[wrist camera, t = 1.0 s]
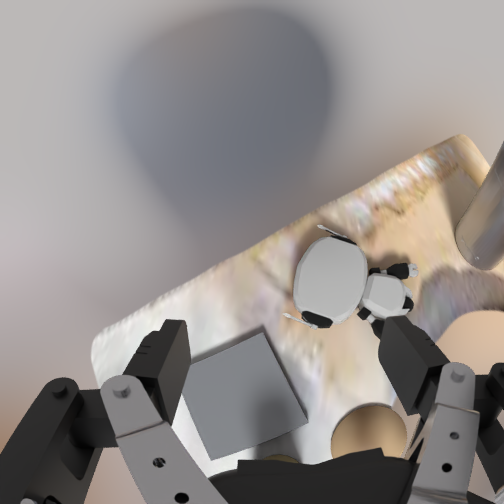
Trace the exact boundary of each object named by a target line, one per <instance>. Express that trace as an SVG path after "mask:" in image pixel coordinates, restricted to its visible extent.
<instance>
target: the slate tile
mask: <svg viewBox="0 0 504 504" xmlns="http://www.w3.org/2000/svg"><path fill="white" fill-rule="evenodd" d="M182 395H183V397H184V400H185V402H186V405H187V407H188V410H189V412H190V415H191V417H192V419H193V422H194V424H195V426H196V429H197V431H198V433H199V435H200V438H201V440H202V442H203V444H204V446H205V449H206V451H207V453H208V455H209V457H210V459H211V461H212V460H215V459H218V458H221V457H224V456H227V455H230V454H233V453H236V452H239V451H242V450H245V449H248V448H250V447H253V446H256V445H258V444H261V443H263V442H266V441H268V440H271V439H273V438H276V437H278V436H280V435H283V434H285V433H287V432H289V431H292V430H294V429H296V428H298V427H300V426H303V425H305V424H307V423H308V420H307V418H306V416H305V414H304V412H303V411H302V409H301V407H300V405H299V403H298V401H297V399H296V397H295V395H294V393H293V391H292V389H291V387H290V385H289V383H288V381H287V379H286V377H285V375H284V373H283V371H282V369H281V367H280V365H279V363H278V361H277V359H276V357H275V355H274V353H273V351H272V349H271V347H270V345H269V343H268V341H267V339H266V337H265V335H264V333H263V332H262V333H260V334H258V335H256V336H253V337H251V338H249V339H247V340H245V341H243V342H241V343H239V344H237V345H234V346H232V347H230V348H228V349H226V350H223V351H221V352H219V353H217V354H215V355H212V356H210V357H208V358H206V359H203V360H201V361H199V362H196V363H194V364H192V365H190V367H189V371H188V374H187V377H186V380H185V384H184V387H183V390H182Z"/></svg>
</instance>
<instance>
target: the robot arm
mask: <svg viewBox="0 0 504 504" xmlns="http://www.w3.org/2000/svg"><path fill="white" fill-rule="evenodd" d="M455 235H456V242H457V246H458V248H459V250H460V252H461V254H462V255H463V257H464V258H465V259H466V260H467V261H468V262H469V263H470V264H471V265H472V266H474V267H476V268H478V269H481V270H491V269H493V268H495V267H496V266H497V265H498V264H499V263H500V262H501V261H502V260H503V259H504V142H503V144H502V146H501V148H500V150H499V152H498V154H497V156H496V159H495V161H494V163H493V165H492V166H491V168H490V170H489V172H488V174H487V176H486V178H485V180H484V181H483V183H482V185H481V187H480V189H479V190H478V192H477V194H476V196H475V197H474V199H473V201H472V202H471V204H470V206H469V207H468V209H467V210H466V212H465V214H464V215H463V217H462V218H461V220H460V221H459V223H458V225H457V227H456V232H455ZM378 357H379V361H380V364H381V365H382V367H383V369H384V371H385V373H386V375H387V377H388V378H389V380H390V382H391V384H392V386H393V388H394V390H395V392H396V394H397V396H398V397H399V399H400V401H401V403H402V405H403V407H404V409H405V411H406V413H407V415H408V416H409V415H413V414H418V413H419V414H420V418H419V420H418V423H417V425H416V429H415V431H414V434H413V437H412V439H411V442H410V445H409V447H408V450H407V452H406V455H405V457H404V459H403V458H398V457H392V456H384V453H383V450H382V448H381V447H379V448H375V449H369V450H364V451H358V452H352V453H348V454H345V455H342V456H340V457H337V458H334V459H331V460H328V461H325V462H322V463H319V464H315V465H309V464H301V463H293V462H286V461H280V460H238V466H237V469H234V470H229V471H225V472H221V473H219V474H216V475H213V476H211V477H209V478H207V477H206V476H205V475H204V473H203V472H202V471H201V469H200V468H199V467H198V465H197V464H196V463H195V461H194V460H193V459H192V457H191V456H190V454H189V453H188V452H187V450H186V449H185V447H184V446H183V444H182V443H181V441H180V440H179V438H178V437H177V436H176V434H175V432H174V431H173V429H172V428H171V426H172V423H173V420H174V416H175V413H176V410H177V406H178V403H179V400H180V397H181V393H182V390H183V387H184V384H185V380H186V377H187V374H188V371H189V367H190V361H191V354H190V346H189V339H188V332H187V325H186V322H185V320H171V319H166V320H165V322H164V323H163V325H162V327H161V329H160V331H152V332H151V333H149V334H148V335H147V336H145V337H144V339H143V340H142V342H141V344H140V347H138V349H137V350H136V354H134V355H133V357H132V359H131V360H130V362H129V364H128V366H127V367H126V369H125V371H124V372H123V374H122V375H118V376H114V377H112V378H110V379H108V380H107V381H105V382H104V384H103V385H102V387H101V389H95V390H79V387H78V385H77V383H76V382H75V381H74V380H72V379H70V378H57V379H54V380H52V381H50V382H48V383H47V384H46V385H45V386H44V388H43V389H42V391H41V392H40V394H39V395H38V396H37V398H36V399H35V401H34V402H33V404H32V405H31V407H30V408H29V409H28V411H27V413H26V414H25V416H24V417H23V419H22V420H21V422H20V423H19V425H18V426H17V428H16V429H15V431H14V433H13V434H12V436H11V437H10V439H9V441H8V442H7V444H6V446H5V448H4V449H3V451H2V452H1V454H0V504H84V501H85V498H86V495H87V492H88V489H89V486H90V483H91V480H92V478H93V475H94V472H95V469H96V466H97V464H98V461H99V458H100V456H101V453H102V450H103V448H105V447H106V448H109V447H119V449H120V451H121V453H122V455H123V458H124V460H125V462H126V464H127V466H128V468H129V471H130V473H131V475H132V477H133V479H134V481H135V483H136V485H137V487H138V489H139V490H140V492H141V494H142V496H143V498H144V500H145V502H146V503H147V504H504V429H503V428H502V426H501V425H500V423H499V421H498V420H497V417H498V415H499V414H500V412H501V410H502V409H503V410H504V363H496V364H494V365H493V366H492V368H491V370H490V372H489V374H488V375H475V373H474V372H473V370H472V369H470V367H468V366H467V365H465V364H462V363H457V362H452V363H451V362H450V361H449V360H448V359H447V357H446V356H445V355H444V354H443V353H442V351H441V350H440V349H439V348H438V346H437V345H435V343H434V342H433V340H431V338H430V337H429V336H428V335H427V333H426V332H425V331H423V330H422V329H420V328H419V327H417V326H414V325H413V324H412V323H411V322H410V321H409V319H408V318H407V317H406V316H405V315H399V316H389V317H387V318H386V320H385V323H384V327H383V332H382V336H381V340H380V344H379V349H378ZM475 451H476V453H477V455H478V457H479V459H480V461H481V463H482V465H483V467H484V469H485V471H486V473H487V476H488V478H489V480H490V483H491V485H492V487H493V489H494V492H495V494H496V496H495V503H493V502H491V501H489V500H487V499H484V498H482V497H480V496H478V495H476V494H474V493H471V492H469V491H467V489H468V486H469V481H470V477H471V472H472V467H473V462H474V456H475Z"/></svg>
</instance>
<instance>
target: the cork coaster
mask: <svg viewBox="0 0 504 504" xmlns="http://www.w3.org/2000/svg"><path fill="white" fill-rule="evenodd" d="M406 440H407V431H406V427H405V424H404V422H403V420H402V418H401V417H400V416H399V415H398V414H397V413H396V412H395V411H393V410H391V409H389V408H386V407H382V406H368V407H363V408H360V409H358V410H356V411H354V412H352V413H351V414H349V415H348V416H347V417H345V418H344V419H343V420H342V421H341V422H340V424H339V425H338V426H337V428H336V430H335V432H334V434H333V437H332V441H331V454H332V457H333V459H334V458H337V457H340V456H342V455H345V454H348V453H352V452H358V451H364V450H369V449H375V448H379V447H381V448H382V450H383V453H384V456H392V457H398V458H399V457H400V456H401V454H402V453H403V450H404V448H405V445H406Z"/></svg>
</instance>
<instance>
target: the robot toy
mask: <svg viewBox="0 0 504 504" xmlns="http://www.w3.org/2000/svg"><path fill="white" fill-rule="evenodd" d="M317 226H318V227H319V228H320V229H324V230H326V231H328V232H330V233H332V234H334V235H336V236H332V235H331V236H330V237H322V238H319V239H318V240H316V241H315V242H313V243H312V244H311V245H310V247H309V248H308V249H307V251H306V252H305V254H304V255H303V257H302V259H301V260H300V262H299V264H298V266H297V270H296V275H295V280H294V289H293V301H294V305H295V308H296V309H297V310H298V311H299V312H300V313H301V314H302V319H303V320H304V321H305V322H304V321H302V320H300V319H297V318H295V317H293V316H290V315H289V314H287V313H283V315H284V316H286V317H288V318H292V319H294V320H296V321H299V322H301V323H303V324H306V325H308V326H310V328H312V329H315V330H316V329H317V327H318V328H330V326H331V325H336V324H341V323H342V322H344V321H345V320H347V319H348V318H349V316H350V315H351V314H352V313H353V311H354V310H355V308H356V307H357V305H358V306H359V309H360V311H359V313H358V314H357V315H358V316H359V317H360V318H361V319H362V320H366V319H367V320H368V321H369V322H370V323H371V325H372V329H373V332H374V334H375V335H376V336H377V337H378V338H379V339H380V340H381V336H382V332H383V327H384V323H385V320H386V318H387V317H389V316H399V315H405V314H406V313H407V312H410V311H411V310H412V309H413V306H414V303H413V301H412V300H411V298H412V293H411V290H410V289H409V288H407V287H406V286H405V285H404V284H403V282H402V281H401V279H407V278H408V276H410V277H415V276H417V275H418V270H417V271H413V270H414V269H417V265H416V264H409V265H407V263H400V264H394V265H392V266H391V267H389V268H388V269H386V270H381V271H380V269H379V268H371V269H370V270H369V277H368V278H367V273H368V269H367V259H366V257H365V254H364V252H363V251H362V250H361V249H360V248H359V247H358V246H357V244H356V243H354V242H353V241H351V240H350V239H348V238H347V237H346V236H344V235H343V236H342V235H340V234H338V233H336V232H334V231H331V230H329V229H327V228H325V227H324V226H322V225H317Z"/></svg>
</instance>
